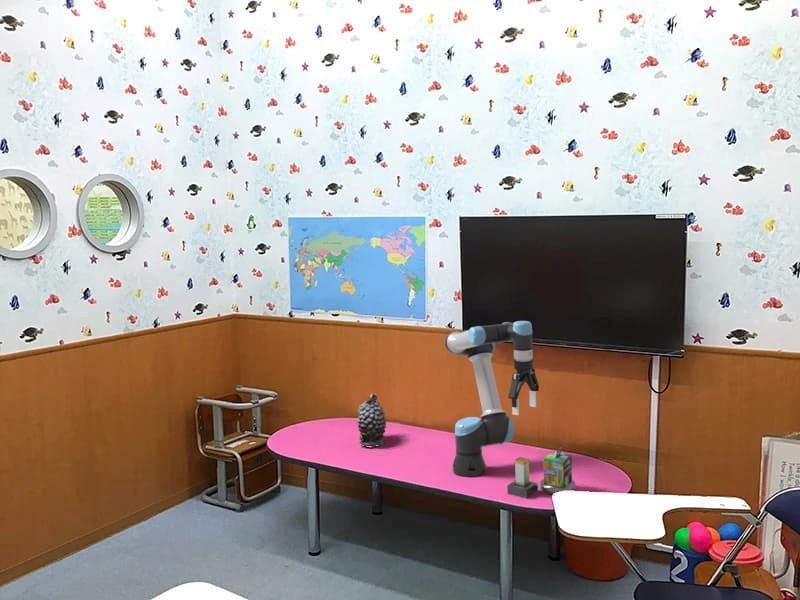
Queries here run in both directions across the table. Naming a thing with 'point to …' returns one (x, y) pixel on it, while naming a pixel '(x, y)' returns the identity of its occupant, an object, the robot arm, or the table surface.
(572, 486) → the rosette disc
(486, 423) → the robot arm
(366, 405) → the dark pine cone
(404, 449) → the table surface
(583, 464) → the table surface
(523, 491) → the socket
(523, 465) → the white rectangular box
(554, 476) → the chalk box
